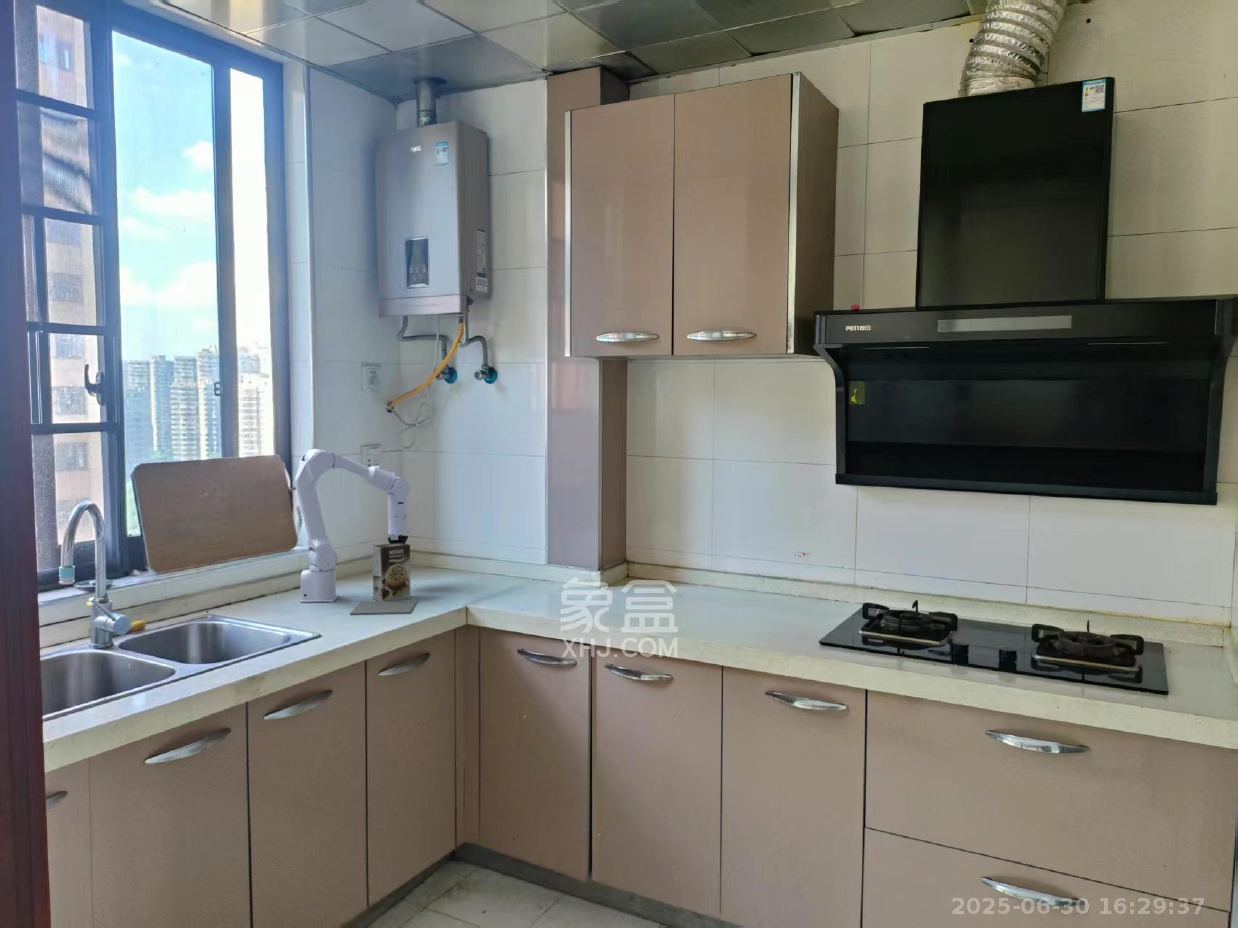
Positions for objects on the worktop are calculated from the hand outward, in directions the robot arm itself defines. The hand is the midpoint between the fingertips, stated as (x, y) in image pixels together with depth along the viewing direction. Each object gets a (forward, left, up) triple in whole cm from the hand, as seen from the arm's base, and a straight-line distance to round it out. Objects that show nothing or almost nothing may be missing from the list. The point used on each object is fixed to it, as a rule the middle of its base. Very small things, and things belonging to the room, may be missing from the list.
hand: (398, 559), depth 263 cm
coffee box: (0, -12, -10) cm, 16 cm away
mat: (0, -24, -9) cm, 26 cm away
